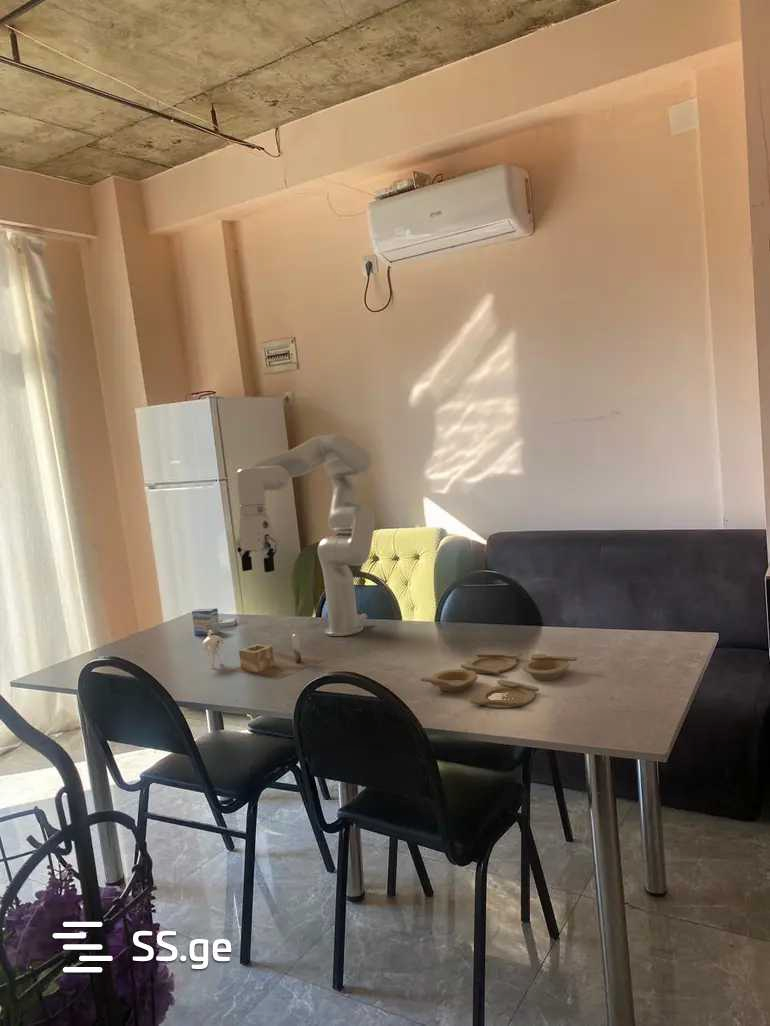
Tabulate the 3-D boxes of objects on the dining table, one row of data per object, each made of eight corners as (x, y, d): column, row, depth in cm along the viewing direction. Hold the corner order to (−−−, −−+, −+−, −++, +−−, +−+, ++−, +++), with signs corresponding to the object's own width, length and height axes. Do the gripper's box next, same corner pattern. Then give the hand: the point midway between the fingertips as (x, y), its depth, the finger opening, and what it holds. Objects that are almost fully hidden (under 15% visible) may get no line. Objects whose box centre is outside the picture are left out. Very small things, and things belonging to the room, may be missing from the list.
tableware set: (485, 655, 207) (484, 641, 207) (585, 668, 188) (584, 652, 188) (407, 697, 180) (406, 681, 180) (515, 717, 162) (513, 699, 161)
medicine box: (194, 635, 263) (191, 611, 262) (200, 632, 267) (197, 608, 266) (214, 635, 261) (211, 610, 260) (220, 631, 265) (217, 607, 264)
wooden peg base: (278, 656, 225) (275, 625, 224) (326, 664, 213) (322, 631, 212) (231, 675, 212) (226, 642, 211) (279, 684, 199) (274, 649, 198)
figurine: (210, 675, 214) (204, 634, 212) (201, 673, 217) (196, 632, 215) (230, 668, 219) (225, 627, 218) (222, 666, 222) (217, 626, 221)
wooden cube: (259, 662, 216) (257, 643, 216) (274, 665, 212) (272, 646, 211) (241, 669, 211) (238, 650, 211) (256, 672, 207) (254, 652, 206)
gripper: (283, 509, 211) (288, 570, 212) (244, 510, 223) (249, 568, 224) (262, 511, 206) (268, 574, 207) (223, 513, 217) (228, 572, 218)
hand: (258, 570), depth 215 cm, fingers open, 9 cm apart
